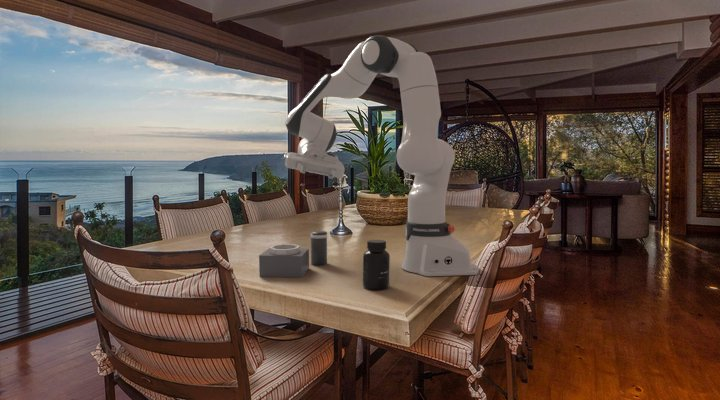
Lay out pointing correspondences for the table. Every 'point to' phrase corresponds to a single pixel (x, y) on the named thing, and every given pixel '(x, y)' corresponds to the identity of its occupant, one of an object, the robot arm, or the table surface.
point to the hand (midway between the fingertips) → (317, 173)
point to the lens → (318, 248)
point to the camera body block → (284, 261)
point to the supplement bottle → (376, 266)
